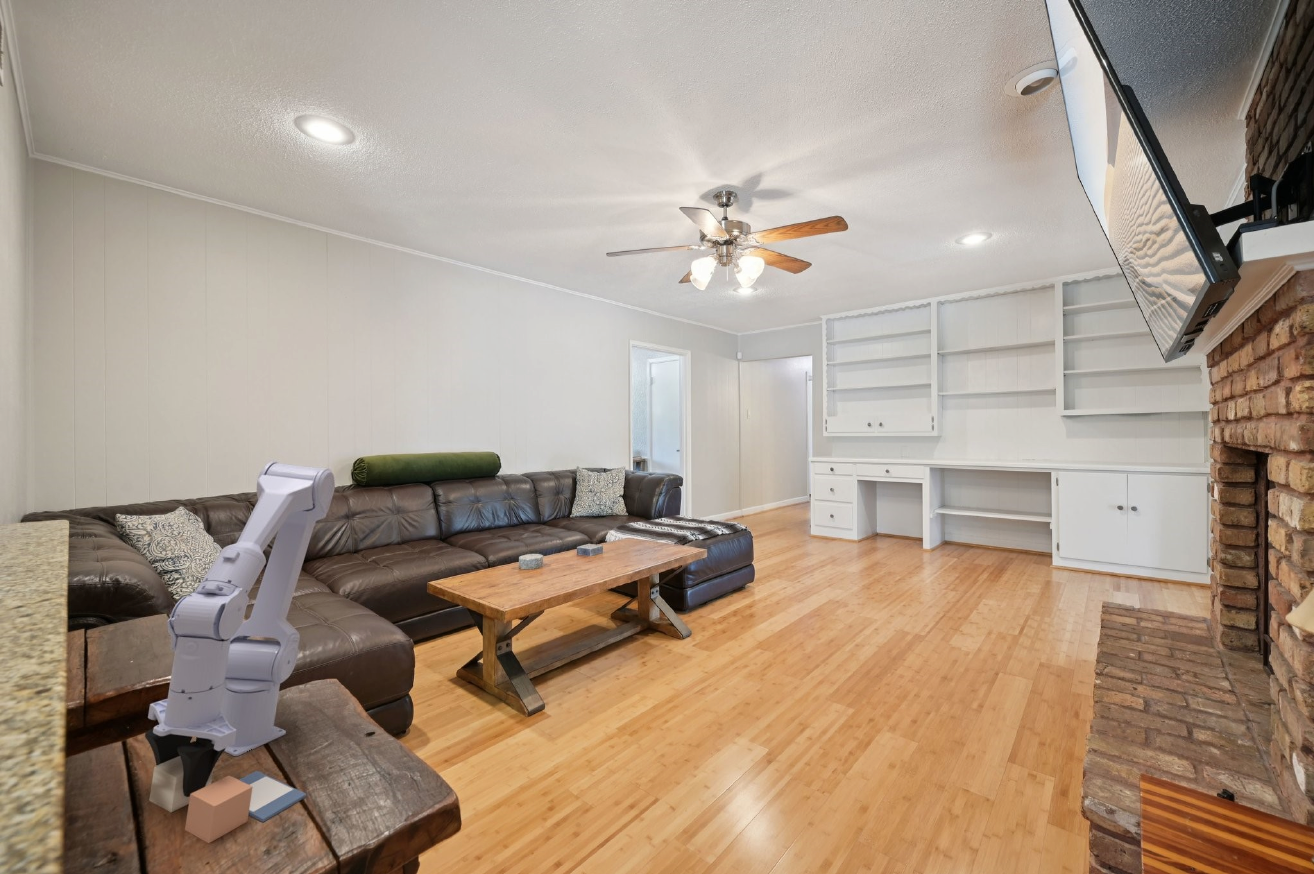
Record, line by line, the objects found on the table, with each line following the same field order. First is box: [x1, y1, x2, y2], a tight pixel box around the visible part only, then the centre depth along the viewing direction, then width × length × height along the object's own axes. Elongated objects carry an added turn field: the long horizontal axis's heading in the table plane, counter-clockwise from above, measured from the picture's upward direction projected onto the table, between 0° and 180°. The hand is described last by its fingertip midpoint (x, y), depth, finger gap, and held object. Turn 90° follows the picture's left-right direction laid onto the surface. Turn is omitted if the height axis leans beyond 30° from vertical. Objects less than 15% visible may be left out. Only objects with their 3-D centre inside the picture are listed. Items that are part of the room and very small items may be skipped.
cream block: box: [148, 756, 215, 813], centre depth 73 cm, size 4×4×4 cm
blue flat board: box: [238, 770, 307, 823], centre depth 75 cm, size 10×6×1 cm, turn 70°
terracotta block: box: [184, 774, 253, 844], centre depth 69 cm, size 4×4×4 cm
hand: (181, 785), depth 73 cm, fingers closed on cream block, 4 cm apart
